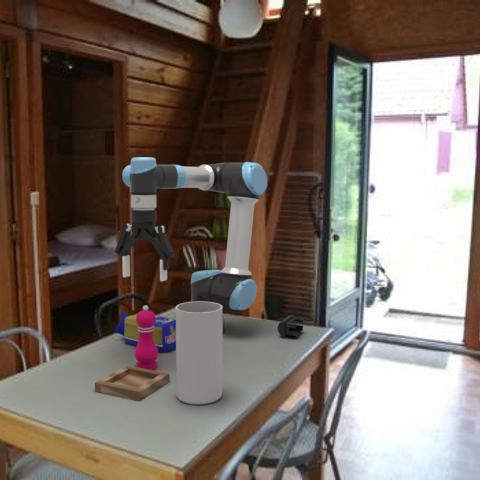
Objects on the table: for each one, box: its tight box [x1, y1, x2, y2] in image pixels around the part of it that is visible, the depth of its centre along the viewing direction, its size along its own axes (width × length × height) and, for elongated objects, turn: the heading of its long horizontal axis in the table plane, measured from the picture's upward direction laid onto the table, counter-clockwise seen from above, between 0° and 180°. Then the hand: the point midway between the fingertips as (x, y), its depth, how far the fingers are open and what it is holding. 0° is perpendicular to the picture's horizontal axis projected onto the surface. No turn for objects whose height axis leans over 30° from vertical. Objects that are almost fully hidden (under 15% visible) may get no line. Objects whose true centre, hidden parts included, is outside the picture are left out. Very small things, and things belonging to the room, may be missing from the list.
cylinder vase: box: [175, 301, 224, 405], centre depth 149 cm, size 12×12×25 cm
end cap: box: [277, 314, 304, 341], centre depth 205 cm, size 10×7×7 cm
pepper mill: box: [134, 304, 159, 371], centre depth 170 cm, size 7×7×20 cm
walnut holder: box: [94, 365, 171, 402], centre depth 156 cm, size 15×15×2 cm
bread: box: [114, 311, 176, 354], centre depth 194 cm, size 10×25×10 cm, turn 55°
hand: (144, 278), depth 167 cm, fingers open, 13 cm apart
